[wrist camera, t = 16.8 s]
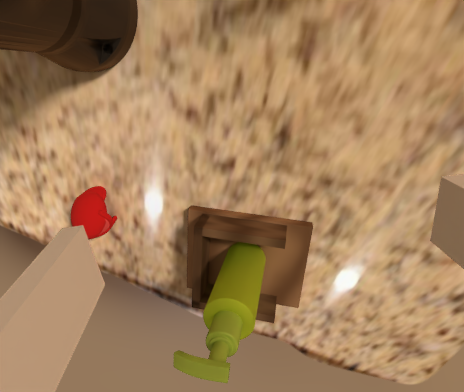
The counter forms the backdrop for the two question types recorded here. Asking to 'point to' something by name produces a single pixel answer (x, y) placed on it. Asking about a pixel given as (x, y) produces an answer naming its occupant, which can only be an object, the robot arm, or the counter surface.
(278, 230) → the u rest
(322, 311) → the counter surface
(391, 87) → the counter surface
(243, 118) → the counter surface
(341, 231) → the counter surface
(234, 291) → the soap dispenser
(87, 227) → the cap
